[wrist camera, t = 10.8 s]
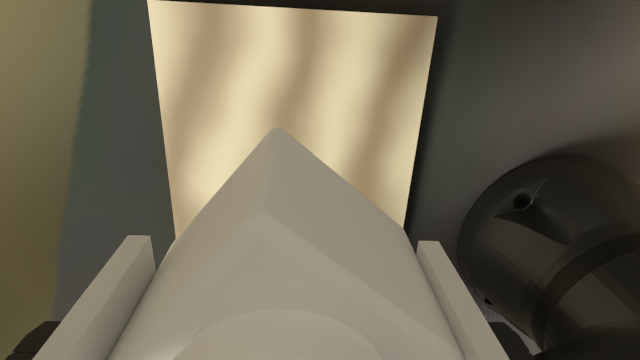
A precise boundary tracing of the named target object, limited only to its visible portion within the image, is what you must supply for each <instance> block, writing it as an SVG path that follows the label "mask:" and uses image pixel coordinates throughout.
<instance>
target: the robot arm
mask: <svg viewBox="0 0 640 360" xmlns="http://www.w3.org/2000/svg"><path fill="white" fill-rule="evenodd" d="M416 257H417V259H418V261H419V263H420V265H421V267H422V269H423V271H424V273H425V276H426V278H427V280H428V282H429V284H430V286H431V288H432V290H433V292H434V295H435V297H436V299H437V301H438V303H439V305H440V307H441V309H442V311H443V314H444V316H445V318H446V320H447V322H448V324H449V326H450V328H451V330H452V333H453V335H454V337H455V339H456V341H457V343H458V345H459V347H460V349H461V352H462V354H463V356H464V358H465V360H640V186H639V185H638V184H637V183H635V182H634V181H633V180H632V179H630V178H629V177H628V176H626V175H625V174H623V173H621V172H619V171H617V170H615V169H613V168H611V167H609V166H607V165H606V164H604V163H601V162H599V161H597V160H594V159H591V158H586V157H581V156H555V157H549V158H544V159H540V160H537V161H534V162H531V163H528V164H526V165H523V166H521V167H519V168H517V169H515V170H513V171H512V172H510V173H508V174H507V175H505V176H503V177H502V178H501V179H499V180H498V181H496V182H495V183H494V184H493V185H492V186H490V187H489V188H488V189H487V190H486V191H485V192H484V193H483V194H482V195H481V196H480V198H479V199H478V200H477V201H476V203H475V204H474V205H473V207H472V208H471V210H470V211H469V213H468V215H467V217H466V219H465V221H464V223H463V225H462V228H461V231H460V235H459V240H458V260H459V264H460V268H461V270H462V272H463V274H464V276H465V278H466V279H467V281H468V283H469V284H470V286H471V287H472V289H473V291H474V292H475V294H476V295H477V296H478V297H479V299H480V300H481V301H482V302H483V303H484V304H485V305H487V306H488V307H489V308H490V309H492V310H493V311H495V312H496V313H498V314H500V315H502V316H503V317H504V318H505V319H506V320H507V321H508V322H510V323H511V324H512V325H513V326H515V327H516V328H517V329H519V330H520V331H521V332H523V333H524V334H525V335H527V336H528V337H529V338H531V339H532V340H533V341H535V343H536V344H537V345H538V347H539V348H540V349H541V351H542V352H541V353H538V354H536V355H534V356H533V355H532V354H530V353H529V349H528V348H527V346H526V345H525V344H524V342H523V341H522V339H521V338H520V336H519V335H518V334H517V333H516V332H514V331H513V330H512V329H511V328H510V327H509V326H507V325H506V324H505V323H504V322H487V321H486V319H485V318H484V316H483V314H482V313H481V311H480V309H479V308H478V306H477V304H476V303H475V301H474V299H473V298H472V296H471V294H470V293H469V291H468V289H467V288H466V286H465V284H464V283H463V281H462V279H461V278H460V276H459V275H458V273H457V271H456V270H455V268H454V266H453V265H452V263H451V261H450V260H449V258H448V256H447V255H446V253H445V251H444V250H443V248H442V246H441V245H440V243H439V241H418V247H417V252H416ZM155 274H156V271H155V264H154V258H153V251H152V244H151V238H150V236H138V235H128V236H127V238H126V239H125V240H124V242H123V243H122V244H121V245H120V247H119V248H118V249H117V251H116V252H115V253H114V255H113V256H112V257H111V258H110V260H109V261H108V262H107V264H106V265H105V266H104V267H103V269H102V270H101V271H100V273H99V274H98V275H97V277H96V278H95V279H94V280H93V282H92V283H91V284H90V286H89V287H88V288H87V289H86V291H85V292H84V293H83V295H82V296H81V297H80V299H79V300H78V301H77V302H76V304H75V305H74V306H73V308H72V309H71V310H70V311H69V313H68V314H67V315H66V317H65V318H64V319H63V321H45V322H44V323H42V324H41V325H40V326H38V327H37V328H35V329H34V330H33V331H31V332H30V333H28V334H27V335H26V336H25V337H24V338H23V339H22V340H21V342H20V343H19V344H18V345H17V346H16V348H15V349H14V350H13V351H12V354H11V355H9V356H8V357H7V358H6V359H5V360H108V358H109V356H110V354H111V353H112V351H113V349H114V347H115V345H116V344H117V342H118V340H119V338H120V336H121V335H122V333H123V331H124V329H125V327H126V326H127V324H128V322H129V320H130V318H131V317H132V315H133V313H134V311H135V309H136V308H137V306H138V304H139V302H140V301H141V299H142V297H143V295H144V293H145V292H146V290H147V288H148V286H149V284H150V283H151V281H152V279H153V277H154V275H155Z"/></svg>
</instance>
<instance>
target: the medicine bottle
mask: <svg viewBox="0 0 640 360" xmlns="http://www.w3.org/2000/svg"><path fill="white" fill-rule="evenodd" d="M108 360H465V358H464V356H463V354H462V352H461V349H460V347H459V345H458V343H457V341H456V339H455V337H454V335H453V333H452V330H451V328H450V326H449V324H448V322H447V320H446V318H445V316H444V314H443V311H442V309H441V307H440V305H439V303H438V301H437V299H436V297H435V295H434V292H433V290H432V288H431V286H430V284H429V282H428V280H427V278H426V276H425V273H424V271H423V269H422V267H421V265H420V263H419V261H418V259H417V257H416V254H415V252H414V250H413V248H412V246H411V244H410V242H409V240H408V237H407V235H406V233H405V231H404V229H403V228H402V227H401V226H400V225H399V224H398V223H396V222H395V221H394V220H393V219H391V218H390V217H389V216H388V215H387V214H385V213H384V212H383V211H382V210H381V209H379V208H378V207H377V206H376V205H374V204H373V203H372V202H371V201H370V200H368V199H367V198H366V197H365V196H364V195H362V194H361V193H360V192H359V191H358V190H356V189H355V188H354V187H353V186H351V185H350V184H349V183H348V182H347V181H345V180H344V179H343V178H342V177H341V176H339V175H338V174H337V173H336V172H334V171H333V170H332V169H331V168H330V167H328V166H327V165H326V164H325V163H324V162H322V161H321V160H320V159H319V158H318V157H316V156H315V155H314V154H313V153H311V152H310V151H309V150H308V149H307V148H305V147H304V146H303V145H302V144H301V143H299V142H298V141H297V140H296V139H294V138H293V137H292V136H291V135H290V134H288V133H287V132H286V131H285V130H283V129H281V128H274V129H272V130H271V131H269V132H268V134H267V135H266V136H265V137H264V138H263V139H262V141H261V142H260V143H259V144H258V145H257V146H256V147H255V149H254V150H253V151H252V152H251V153H250V154H249V156H248V157H247V158H246V159H245V160H244V161H243V162H242V164H241V165H240V166H239V167H238V168H237V169H236V171H235V172H234V173H233V174H232V175H231V176H230V177H229V179H228V180H227V181H226V182H225V183H224V184H223V186H222V187H221V188H220V189H219V190H218V191H217V192H216V194H215V195H214V196H213V197H212V198H211V199H210V201H209V202H208V203H207V204H206V205H205V206H204V207H203V209H202V210H201V211H200V212H199V213H198V214H197V216H196V217H195V218H194V219H193V220H192V221H191V222H190V224H189V225H188V226H187V227H186V228H185V229H184V231H183V232H182V233H181V234H180V235H179V236H178V237H177V239H176V240H175V241H174V242H173V243H172V245H171V247H170V248H169V250H168V252H167V254H166V256H165V257H164V259H163V261H162V263H161V265H160V266H159V268H158V270H157V272H156V274H155V275H154V277H153V279H152V281H151V283H150V284H149V286H148V288H147V290H146V292H145V293H144V295H143V297H142V299H141V301H140V302H139V304H138V306H137V308H136V309H135V311H134V313H133V315H132V317H131V318H130V320H129V322H128V324H127V326H126V327H125V329H124V331H123V333H122V335H121V336H120V338H119V340H118V342H117V344H116V345H115V347H114V349H113V351H112V353H111V354H110V356H109V358H108Z"/></svg>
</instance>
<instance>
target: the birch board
mask: <svg viewBox="0 0 640 360" xmlns="http://www.w3.org/2000/svg"><path fill="white" fill-rule="evenodd" d="M147 2H148V10H149V18H150V27H151V35H152V43H153V51H154V60H155V68H156V76H157V85H158V93H159V101H160V110H161V118H162V126H163V134H164V143H165V151H166V159H167V168H168V176H169V184H170V193H171V201H172V209H173V217H174V226H175V234H176V239H177V237H178V236H179V235H180V234H181V233H182V232H183V231H184V229H185V228H186V227H187V226H188V225H189V224H190V222H191V221H192V220H193V219H194V218H195V217H196V216H197V214H198V213H199V212H200V211H201V210H202V209H203V207H204V206H205V205H206V204H207V203H208V202H209V201H210V199H211V198H212V197H213V196H214V195H215V194H216V192H217V191H218V190H219V189H220V188H221V187H222V186H223V184H224V183H225V182H226V181H227V180H228V179H229V177H230V176H231V175H232V174H233V173H234V172H235V171H236V169H237V168H238V167H239V166H240V165H241V164H242V162H243V161H244V160H245V159H246V158H247V157H248V156H249V154H250V153H251V152H252V151H253V150H254V149H255V147H256V146H257V145H258V144H259V143H260V142H261V141H262V139H263V138H264V137H265V136H266V135H267V134H268V132H269V131H271V130H272V129H274V128H281V129H283V130H285V131H286V132H287V133H288V134H290V135H291V136H292V137H293V138H294V139H296V140H297V141H298V142H299V143H301V144H302V145H303V146H304V147H305V148H307V149H308V150H309V151H310V152H311V153H313V154H314V155H315V156H316V157H318V158H319V159H320V160H321V161H322V162H324V163H325V164H326V165H327V166H328V167H330V168H331V169H332V170H333V171H334V172H336V173H337V174H338V175H339V176H341V177H342V178H343V179H344V180H345V181H347V182H348V183H349V184H350V185H351V186H353V187H354V188H355V189H356V190H358V191H359V192H360V193H361V194H362V195H364V196H365V197H366V198H367V199H368V200H370V201H371V202H372V203H373V204H374V205H376V206H377V207H378V208H379V209H381V210H382V211H383V212H384V213H385V214H387V215H388V216H389V217H390V218H391V219H393V220H394V221H395V222H396V223H398V224H399V225H400V226H401V227H402V228H403V226H404V220H405V214H406V208H407V202H408V195H409V189H410V183H411V177H412V171H413V165H414V159H415V153H416V147H417V141H418V135H419V129H420V122H421V116H422V110H423V104H424V98H425V92H426V86H427V80H428V74H429V68H430V62H431V56H432V49H433V43H434V37H435V31H436V25H437V19H438V17H436V16H419V15H402V14H384V13H367V12H350V11H332V10H315V9H298V8H281V7H263V6H246V5H229V4H211V3H194V2H177V1H160V0H147Z"/></svg>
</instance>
